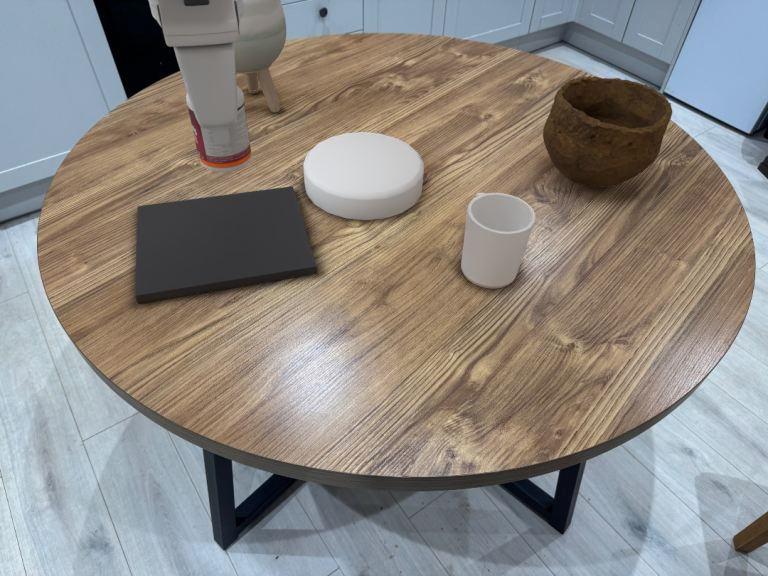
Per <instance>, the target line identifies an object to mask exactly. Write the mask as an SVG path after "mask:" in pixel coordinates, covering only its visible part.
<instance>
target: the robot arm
mask: <svg viewBox="0 0 768 576" xmlns="http://www.w3.org/2000/svg"><path fill="white" fill-rule="evenodd" d="M148 4H149V8H150V12H151V15H152V17H153V18H154V20H155V21H156V22H157V24H158V25H159V26H160V28H161V31H162V35H163V39H164V41H165V44H166V46H167V47H169V48H173V50H174V53H175V57H176V61H177V64H178V67H179V70H180V74H181V77H182V80H183V84H184V86H185V90H186V94H187V93H188V96H189V99H190V102H191V105H192V108H193V111H194V114H195V117H196V119H197V121H198V123H199V125H200V126H201V127H202V128H210V129H211V132H212V137H213V142H214V143H215V144H217V145H219V144H228V143H229V142H230V134H229V126H233V125H235V124H236V122H237V86H238V82H237V83H236V77H237V75H236V63H235V43H234V42H238V41H239V39H240V37H239V34H240V32H239V22H240V19H241V16H242V14H243V13H244V2H243V0H148Z"/></svg>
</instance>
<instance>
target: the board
mask: <svg viewBox="0 0 768 576" xmlns="http://www.w3.org/2000/svg"><path fill="white" fill-rule="evenodd" d="M299 205H300V204H299V202H298V199H297V195H296V192H295V188H294V186H292V185H291V186H284V187H276V188H269V189H261V190H252V191H245V192H237V193H230V194H222V195H221V194H220V195H214V196H205V197H198V198H197V197H196V198H191V199H183V200H176V201H168V202H167V201H166V202H159V203H151V204H144V205H137V209H136V210H137V213H136V248H135V277H134V278H135V280H134V281H135V282H134V297H135V300H136V302H137V304H142V303H149V302H154V301H155V302H156V301H161V300H167V299H173V298H179V297H180V298H181V297H185V296H191V295H197V294H204V293H210V292H216V291H221V290H228V289H234V288H240V287H245V286H251V285H252V286H253V285H258V284H264V283H270V282H276V281H282V280H288V279H294V278H301V277H305V276H313V275H317V274H318V266H317V262H316V258H315V255H314V252H313V249H312V246H311V243H310V238H309V235H308V232H307V228H306V226H305V222H304V219H303V216H302V212H301V209H300V206H299Z"/></svg>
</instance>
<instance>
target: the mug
mask: <svg viewBox="0 0 768 576" xmlns="http://www.w3.org/2000/svg"><path fill="white" fill-rule="evenodd" d="M535 222H536V213H535V211H534V209H533V207H532V206H531V204H528V203H527V201H525V200H524V199H521V198H519V197H517V196H515V195H511V194H508V193H503V192H487V193H485V192H478V193H475V196H474V198H472V199H471V200H470V201H469V203H468V206H467V209H466V217H465V227H464V234H463V244H462V251H461V252H462V253H461V261H460V269H461V272H462V274H463V276H464V277H465V278H466V279H467V280H468V281H469V282H470V283H472V284H473V285H475V286H478V287H480V288H483V289H490V290H491V289H492V290H495V289H502V288H505V287H507V286H509V285H510V284H512V283H513V282H514V281H515V280H516V278H517V275H518V272H519V270H520V267H521V263H522V260H523V258H524V255H525V252H526V249H527V246H528V243H529V240H530V237H531V235H532V232H533V228H534V225H535Z"/></svg>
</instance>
